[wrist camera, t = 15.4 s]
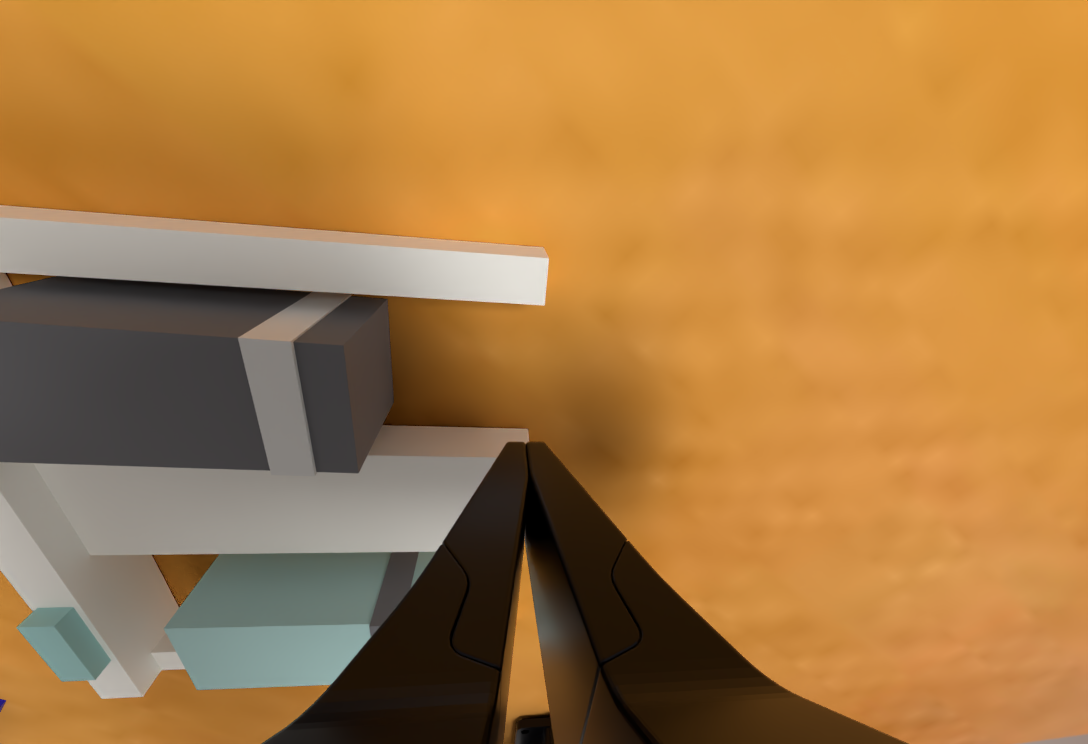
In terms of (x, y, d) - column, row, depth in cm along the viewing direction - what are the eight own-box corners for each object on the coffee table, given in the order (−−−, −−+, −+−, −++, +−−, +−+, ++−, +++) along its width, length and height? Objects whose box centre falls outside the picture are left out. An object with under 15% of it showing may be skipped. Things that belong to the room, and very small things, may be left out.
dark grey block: (393, 402, 13) (357, 477, 10) (122, 388, 12) (-18, 466, 9) (387, 296, 11) (341, 345, 8) (74, 269, 10) (-117, 312, 7)
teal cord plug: (448, 591, 18) (435, 684, 14) (255, 593, 17) (195, 694, 13) (448, 533, 16) (433, 624, 13) (233, 533, 15) (160, 631, 12)
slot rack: (512, 618, 19) (512, 695, 16) (154, 629, 17) (86, 718, 14) (543, 247, 11) (555, 272, 8) (-100, 197, 9) (-351, 208, 7)
